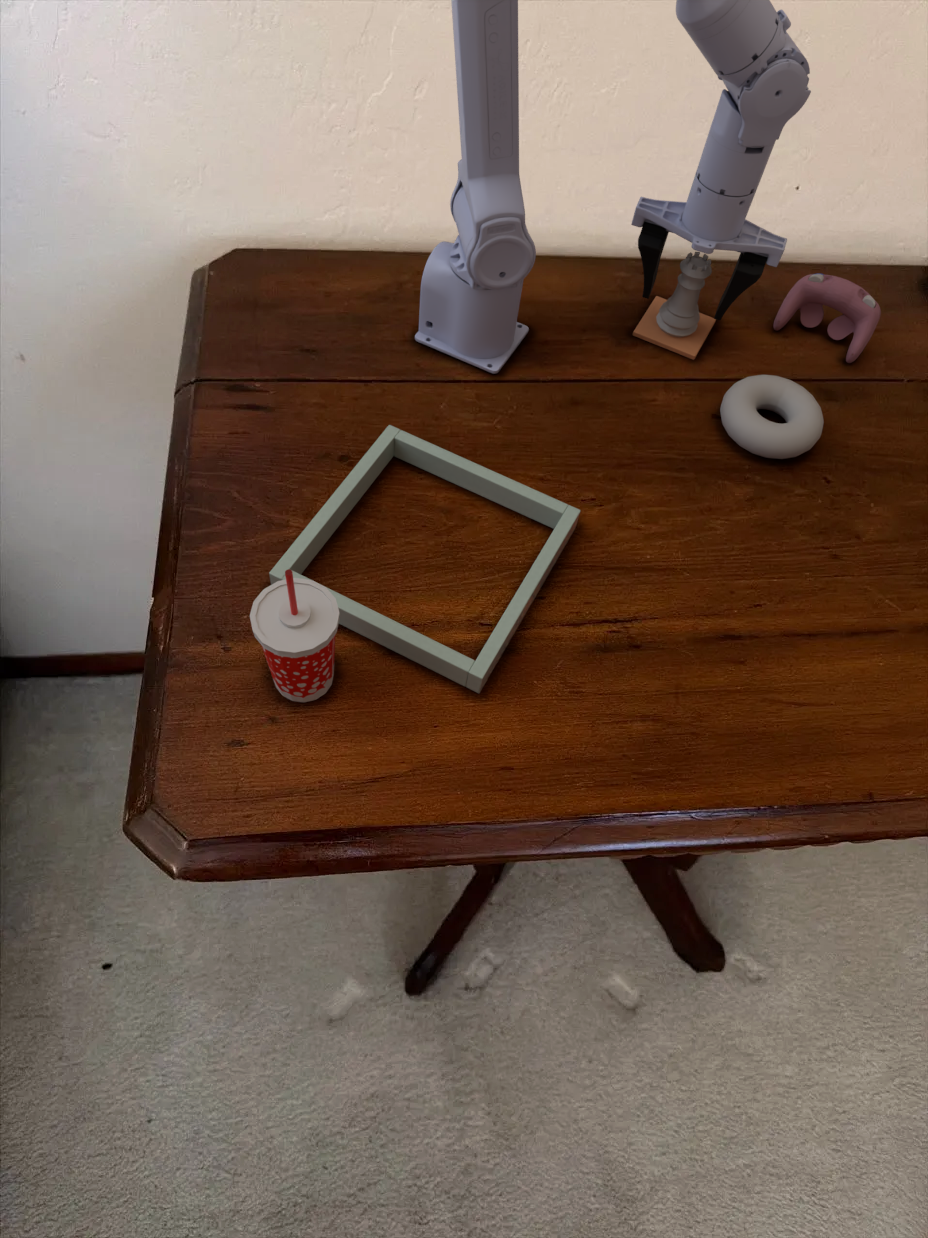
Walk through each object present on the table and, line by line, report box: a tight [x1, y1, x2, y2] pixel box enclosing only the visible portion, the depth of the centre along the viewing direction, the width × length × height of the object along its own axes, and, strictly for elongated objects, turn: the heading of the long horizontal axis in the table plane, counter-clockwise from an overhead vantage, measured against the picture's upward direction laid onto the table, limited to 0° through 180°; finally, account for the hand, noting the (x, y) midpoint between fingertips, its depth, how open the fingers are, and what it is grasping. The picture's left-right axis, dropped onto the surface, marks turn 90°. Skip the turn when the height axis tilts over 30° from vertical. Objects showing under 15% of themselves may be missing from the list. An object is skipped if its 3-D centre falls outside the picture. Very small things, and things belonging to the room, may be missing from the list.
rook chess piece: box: [656, 251, 713, 337], centre depth 90 cm, size 4×4×8 cm
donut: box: [719, 374, 825, 460], centre depth 86 cm, size 10×3×10 cm
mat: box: [632, 295, 717, 361], centre depth 94 cm, size 7×7×1 cm
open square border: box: [268, 424, 582, 694], centre depth 74 cm, size 19×19×2 cm
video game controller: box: [772, 272, 882, 364], centre depth 94 cm, size 10×5×7 cm, turn 58°
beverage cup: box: [249, 569, 340, 703], centre depth 62 cm, size 6×6×14 cm
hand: (682, 303), depth 91 cm, fingers open, 7 cm apart
